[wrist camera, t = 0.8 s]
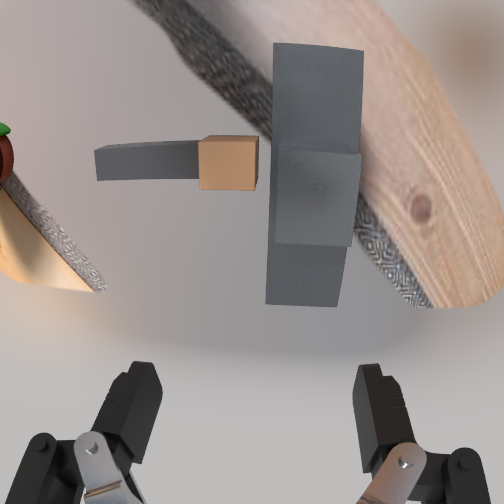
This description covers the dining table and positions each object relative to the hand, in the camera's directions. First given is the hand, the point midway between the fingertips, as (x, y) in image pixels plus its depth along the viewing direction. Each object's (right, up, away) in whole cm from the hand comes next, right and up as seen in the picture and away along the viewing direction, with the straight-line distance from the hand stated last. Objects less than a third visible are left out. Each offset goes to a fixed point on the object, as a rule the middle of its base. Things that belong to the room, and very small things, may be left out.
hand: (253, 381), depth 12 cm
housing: (+5, +14, +20) cm, 25 cm away
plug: (-8, +15, +21) cm, 27 cm away
